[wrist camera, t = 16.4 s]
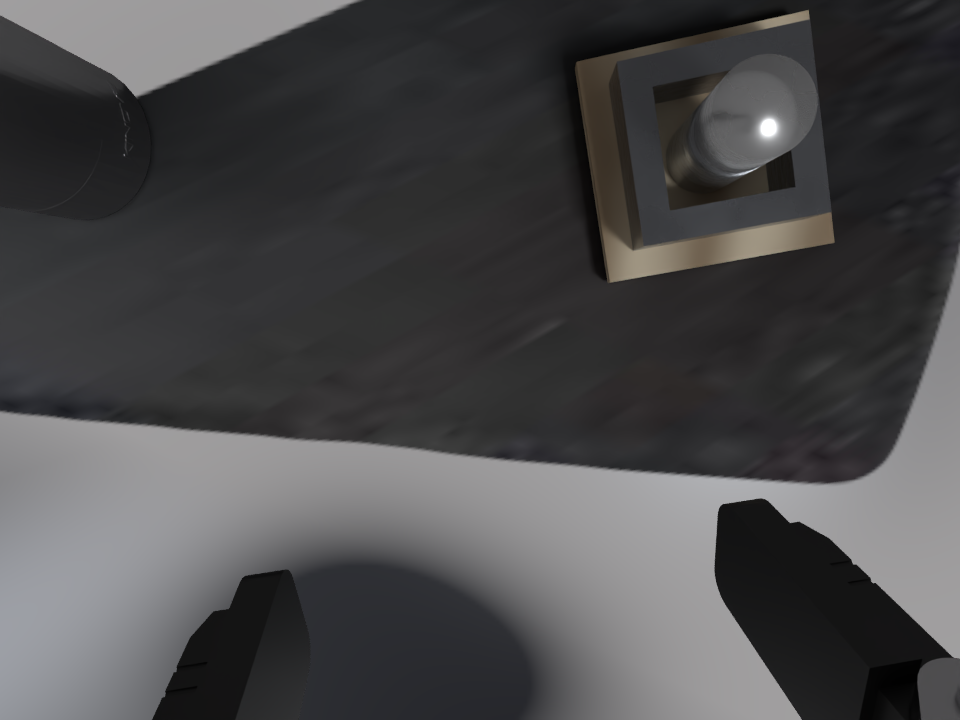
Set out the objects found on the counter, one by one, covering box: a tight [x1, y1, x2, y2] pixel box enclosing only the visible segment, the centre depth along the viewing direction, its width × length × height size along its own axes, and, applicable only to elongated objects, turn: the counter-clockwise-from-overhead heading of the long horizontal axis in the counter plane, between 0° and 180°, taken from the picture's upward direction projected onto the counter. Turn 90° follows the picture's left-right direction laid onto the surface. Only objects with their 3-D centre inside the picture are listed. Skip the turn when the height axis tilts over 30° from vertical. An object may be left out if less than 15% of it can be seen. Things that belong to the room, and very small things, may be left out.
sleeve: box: [609, 19, 831, 251], centre depth 29 cm, size 9×9×3 cm
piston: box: [666, 54, 818, 194], centre depth 26 cm, size 4×4×8 cm
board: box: [575, 10, 834, 283], centre depth 31 cm, size 12×12×1 cm
